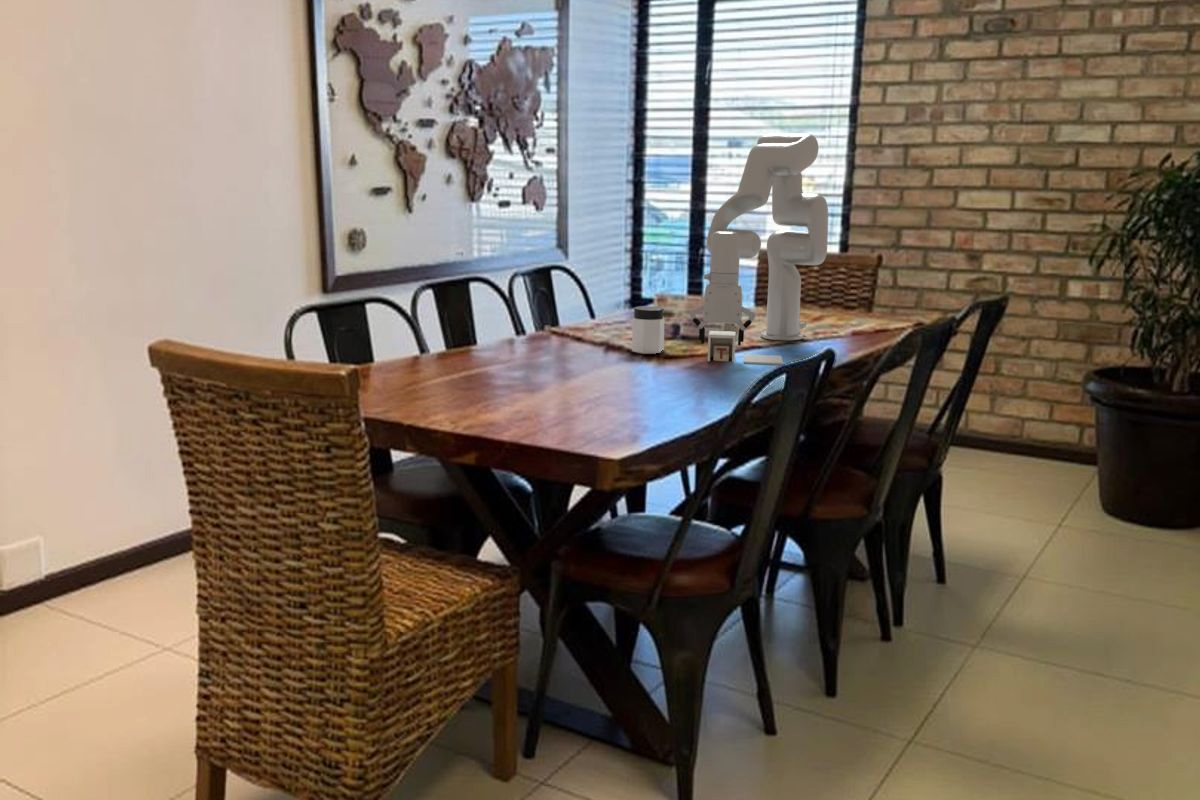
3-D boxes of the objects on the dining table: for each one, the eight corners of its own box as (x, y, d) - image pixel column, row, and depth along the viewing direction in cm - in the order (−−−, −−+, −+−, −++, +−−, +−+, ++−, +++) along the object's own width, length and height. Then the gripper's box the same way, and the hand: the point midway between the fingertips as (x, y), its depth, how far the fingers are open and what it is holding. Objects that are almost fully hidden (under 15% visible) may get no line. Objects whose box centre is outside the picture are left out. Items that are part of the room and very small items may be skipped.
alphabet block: (708, 356, 277) (709, 330, 275) (734, 357, 276) (735, 331, 275) (707, 361, 270) (708, 335, 269) (734, 362, 269) (735, 336, 268)
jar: (670, 352, 283) (671, 308, 280) (647, 355, 278) (648, 311, 275) (648, 347, 290) (649, 305, 287) (626, 350, 285) (627, 307, 282)
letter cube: (713, 358, 276) (714, 343, 275) (728, 358, 275) (729, 343, 274) (713, 361, 272) (713, 346, 271) (728, 361, 271) (729, 346, 270)
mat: (744, 356, 278) (744, 354, 278) (781, 357, 276) (781, 355, 276) (743, 363, 268) (743, 361, 268) (782, 364, 267) (782, 363, 267)
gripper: (690, 279, 266) (687, 344, 269) (757, 281, 263) (753, 347, 267) (691, 276, 273) (689, 340, 277) (757, 279, 271) (753, 343, 274)
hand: (721, 343), depth 272 cm, fingers open, 9 cm apart
